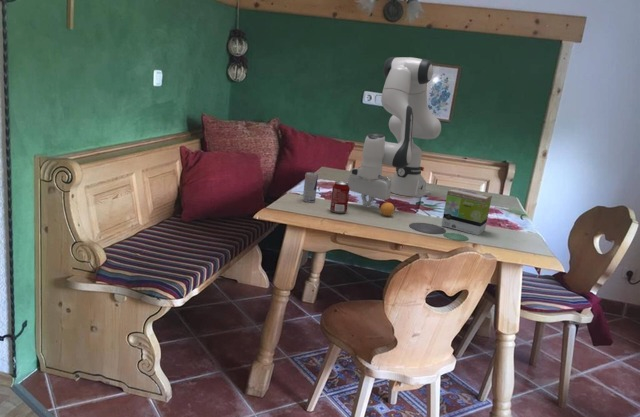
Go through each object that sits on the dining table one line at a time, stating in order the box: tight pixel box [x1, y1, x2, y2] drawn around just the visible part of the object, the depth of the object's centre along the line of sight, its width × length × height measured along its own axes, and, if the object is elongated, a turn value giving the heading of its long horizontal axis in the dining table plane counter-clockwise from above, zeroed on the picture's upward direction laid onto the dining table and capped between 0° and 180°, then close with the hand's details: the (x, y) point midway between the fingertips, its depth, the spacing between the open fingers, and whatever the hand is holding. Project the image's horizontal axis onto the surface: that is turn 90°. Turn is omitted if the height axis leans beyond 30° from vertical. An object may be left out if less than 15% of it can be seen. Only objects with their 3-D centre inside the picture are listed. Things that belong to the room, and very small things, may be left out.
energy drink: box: [302, 172, 319, 203], centre depth 221 cm, size 5×5×12 cm
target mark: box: [408, 222, 447, 235], centre depth 199 cm, size 14×14×1 cm
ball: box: [380, 201, 395, 217], centre depth 211 cm, size 6×6×6 cm
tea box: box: [441, 187, 493, 236], centre depth 203 cm, size 15×10×15 cm, turn 58°
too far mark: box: [443, 232, 469, 242], centre depth 192 cm, size 9×9×1 cm
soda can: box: [329, 180, 350, 214], centre depth 208 cm, size 7×7×12 cm
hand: (366, 205), depth 218 cm, fingers closed
